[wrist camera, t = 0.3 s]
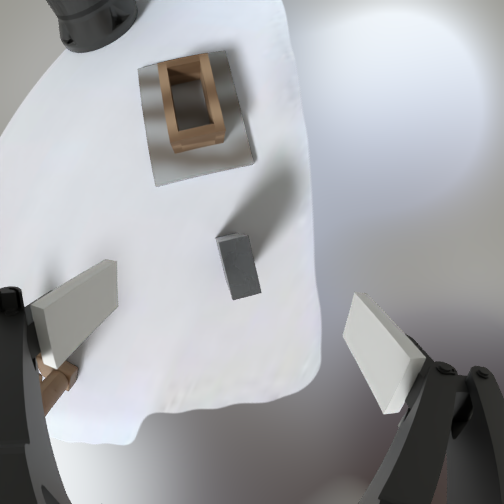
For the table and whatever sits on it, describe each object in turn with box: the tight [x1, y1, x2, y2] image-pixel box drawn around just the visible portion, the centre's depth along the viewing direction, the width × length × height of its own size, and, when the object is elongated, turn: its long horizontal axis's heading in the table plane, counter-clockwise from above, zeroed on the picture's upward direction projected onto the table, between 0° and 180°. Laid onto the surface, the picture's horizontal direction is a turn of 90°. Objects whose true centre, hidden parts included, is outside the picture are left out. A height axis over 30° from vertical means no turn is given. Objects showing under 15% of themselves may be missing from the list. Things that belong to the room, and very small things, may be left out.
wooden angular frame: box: [36, 352, 78, 416], centre depth 28 cm, size 4×11×18 cm, turn 64°
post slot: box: [138, 51, 254, 187], centre depth 34 cm, size 20×14×6 cm
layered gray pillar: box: [216, 233, 261, 300], centre depth 34 cm, size 6×3×12 cm, turn 13°
